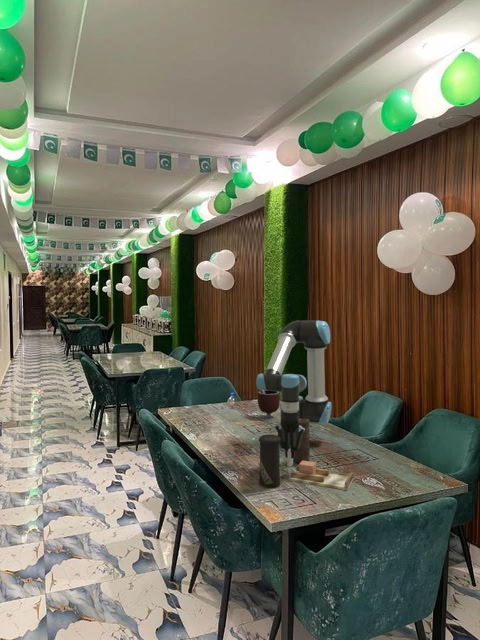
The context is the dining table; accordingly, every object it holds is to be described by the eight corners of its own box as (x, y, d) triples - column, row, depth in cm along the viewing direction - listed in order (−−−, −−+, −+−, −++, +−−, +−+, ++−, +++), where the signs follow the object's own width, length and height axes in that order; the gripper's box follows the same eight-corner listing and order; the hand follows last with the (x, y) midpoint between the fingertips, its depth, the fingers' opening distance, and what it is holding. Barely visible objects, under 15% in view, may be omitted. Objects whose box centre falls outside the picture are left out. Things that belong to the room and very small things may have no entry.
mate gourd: (283, 418, 293) (283, 386, 292) (273, 423, 282) (273, 390, 281) (262, 414, 302) (262, 384, 301) (251, 419, 290) (251, 388, 289)
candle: (305, 466, 209) (305, 422, 208) (290, 463, 212) (290, 420, 212) (312, 461, 215) (312, 418, 214) (297, 458, 219) (297, 416, 218)
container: (257, 480, 192) (257, 433, 191) (278, 479, 193) (278, 432, 192) (260, 489, 184) (260, 439, 183) (282, 488, 184) (282, 438, 183)
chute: (289, 480, 192) (289, 473, 192) (298, 470, 203) (298, 464, 203) (347, 490, 182) (347, 482, 182) (353, 479, 193) (353, 472, 193)
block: (298, 475, 194) (298, 464, 194) (302, 471, 198) (302, 460, 198) (312, 478, 191) (312, 466, 191) (316, 474, 196) (316, 462, 196)
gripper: (272, 411, 196) (272, 465, 197) (302, 414, 191) (302, 470, 192) (278, 407, 203) (278, 460, 204) (307, 410, 198) (307, 464, 199)
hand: (290, 465), depth 198 cm, fingers closed
